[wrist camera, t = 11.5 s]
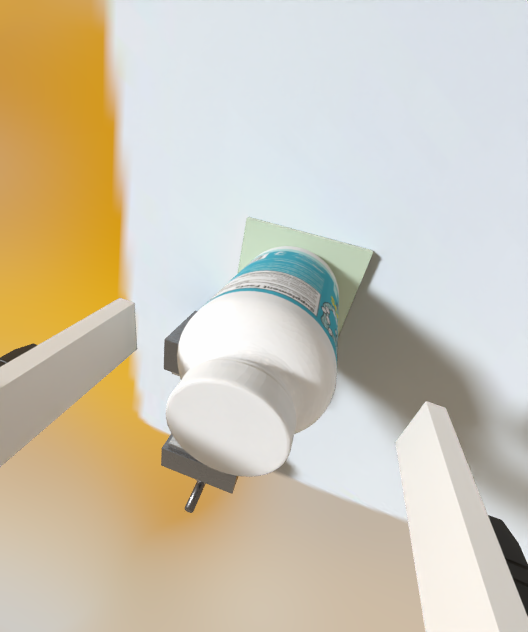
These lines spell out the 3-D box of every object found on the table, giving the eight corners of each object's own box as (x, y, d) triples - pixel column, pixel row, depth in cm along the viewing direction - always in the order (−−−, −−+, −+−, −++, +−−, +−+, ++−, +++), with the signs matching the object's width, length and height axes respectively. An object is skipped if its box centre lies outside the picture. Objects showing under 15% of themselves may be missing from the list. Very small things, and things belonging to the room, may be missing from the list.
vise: (200, 305, 26) (156, 346, 20) (281, 331, 25) (261, 382, 19) (186, 444, 37) (155, 498, 31) (242, 466, 36) (222, 526, 30)
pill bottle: (315, 346, 23) (285, 526, 11) (234, 312, 23) (124, 450, 12) (358, 265, 19) (378, 411, 7) (260, 226, 20) (136, 307, 8)
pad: (249, 217, 20) (246, 218, 20) (372, 250, 19) (373, 252, 18) (231, 320, 25) (229, 323, 24) (330, 351, 23) (330, 356, 23)
